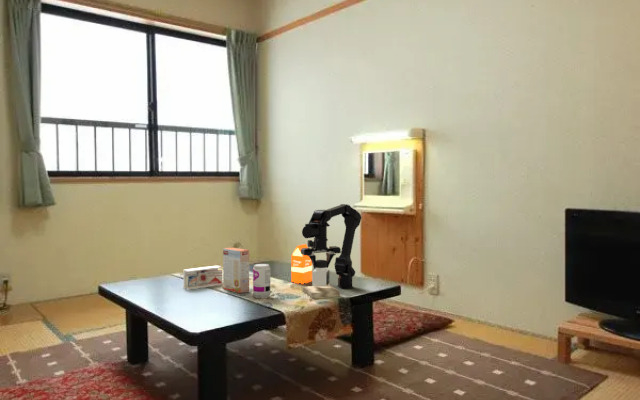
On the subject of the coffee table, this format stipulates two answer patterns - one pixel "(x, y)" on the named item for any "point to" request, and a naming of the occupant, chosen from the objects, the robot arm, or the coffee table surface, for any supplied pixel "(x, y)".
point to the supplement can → (261, 280)
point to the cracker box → (236, 270)
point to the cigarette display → (202, 277)
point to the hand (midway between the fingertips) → (320, 268)
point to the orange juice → (301, 266)
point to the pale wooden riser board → (320, 291)
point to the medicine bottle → (320, 274)
